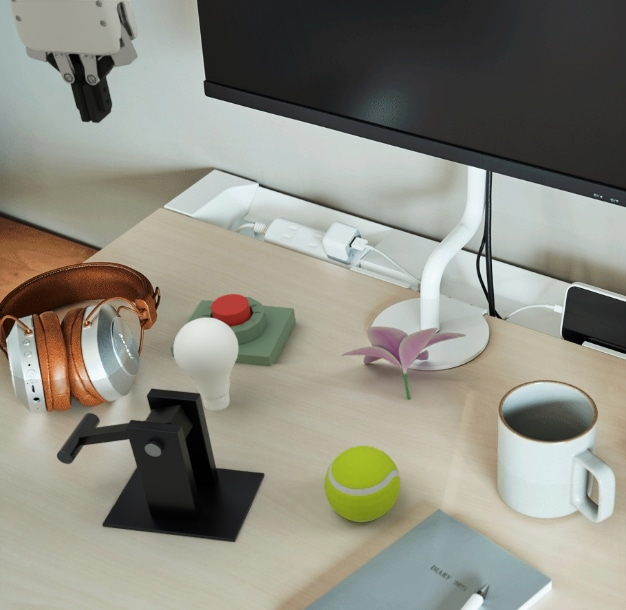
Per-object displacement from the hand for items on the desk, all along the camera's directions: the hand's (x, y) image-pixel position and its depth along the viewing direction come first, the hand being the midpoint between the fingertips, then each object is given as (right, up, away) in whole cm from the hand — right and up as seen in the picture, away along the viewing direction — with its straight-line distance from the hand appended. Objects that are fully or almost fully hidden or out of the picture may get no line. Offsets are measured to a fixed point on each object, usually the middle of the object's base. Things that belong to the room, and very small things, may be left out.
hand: (97, 116), depth 93 cm
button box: (+11, -23, +11) cm, 28 cm away
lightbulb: (+12, -30, +2) cm, 32 cm away
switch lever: (+8, -31, -13) cm, 34 cm away
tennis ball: (+28, -38, -9) cm, 48 cm away
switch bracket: (+12, -37, -9) cm, 40 cm away
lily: (+30, -27, +6) cm, 41 cm away
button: (+11, -20, +9) cm, 25 cm away
